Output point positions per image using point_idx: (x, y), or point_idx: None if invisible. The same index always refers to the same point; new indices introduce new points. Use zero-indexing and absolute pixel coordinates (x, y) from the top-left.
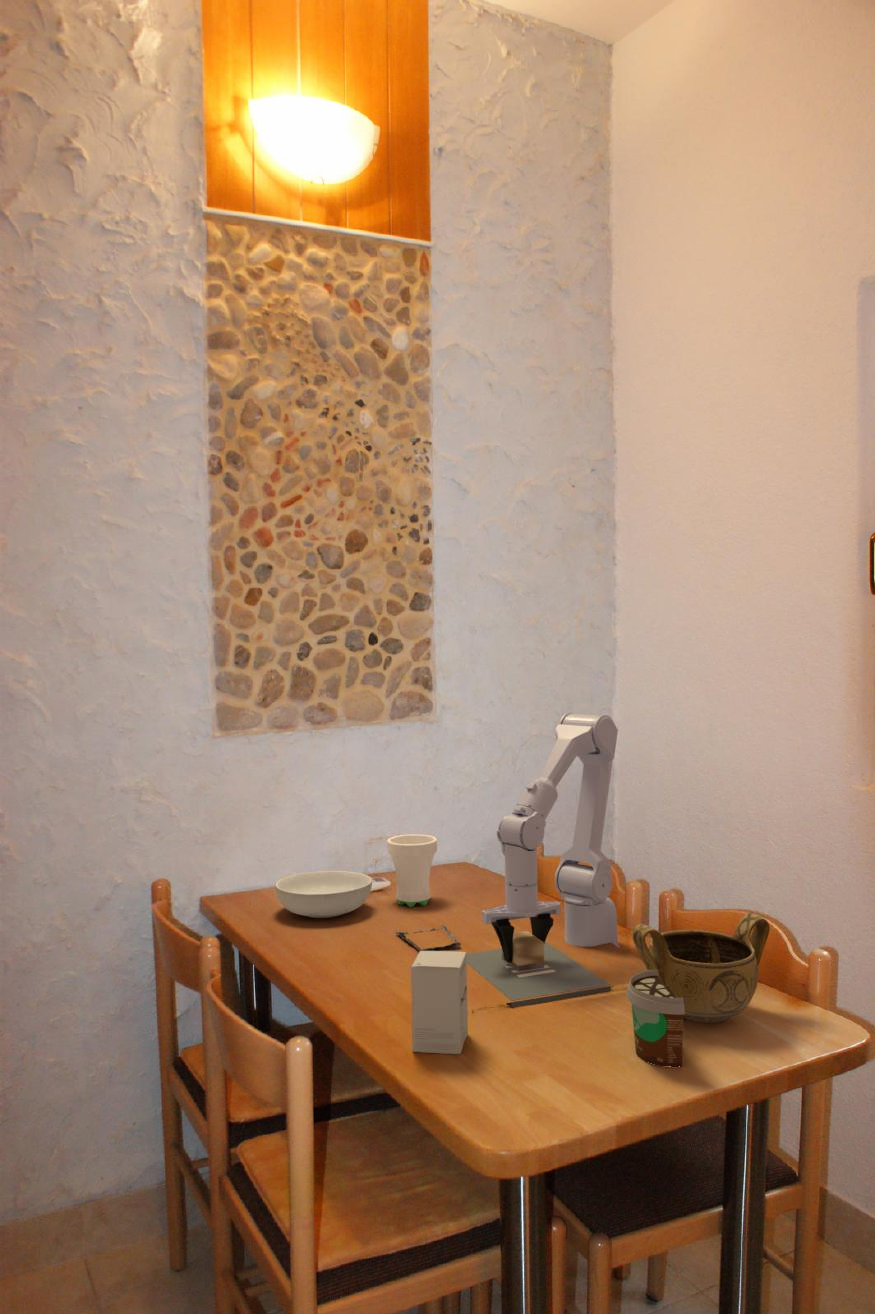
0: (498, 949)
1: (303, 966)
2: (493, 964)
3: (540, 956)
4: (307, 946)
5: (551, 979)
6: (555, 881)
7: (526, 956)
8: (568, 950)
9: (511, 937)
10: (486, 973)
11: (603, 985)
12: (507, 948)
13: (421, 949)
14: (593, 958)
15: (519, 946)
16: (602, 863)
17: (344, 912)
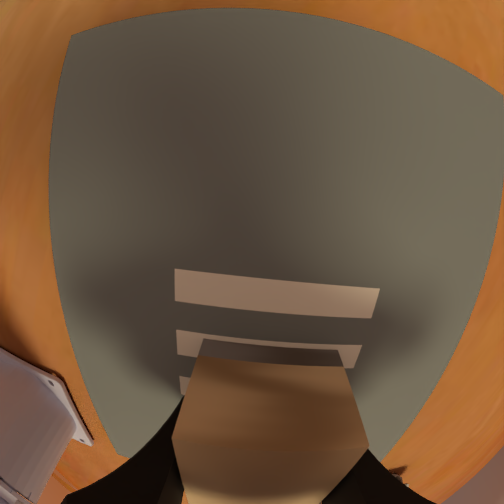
0: None
1: (497, 444)
2: None
3: (213, 378)
4: (444, 488)
5: (258, 179)
6: None
7: (302, 393)
8: (75, 407)
9: (370, 494)
10: (430, 368)
11: (97, 27)
12: (369, 450)
13: (408, 484)
14: (28, 336)
15: (356, 441)
16: None
17: None
